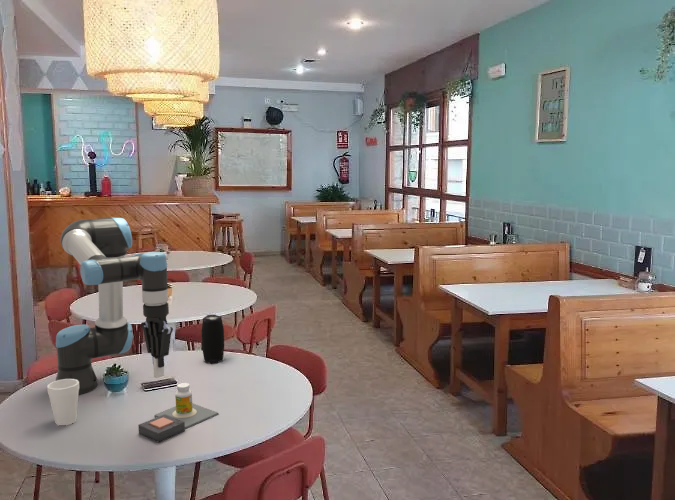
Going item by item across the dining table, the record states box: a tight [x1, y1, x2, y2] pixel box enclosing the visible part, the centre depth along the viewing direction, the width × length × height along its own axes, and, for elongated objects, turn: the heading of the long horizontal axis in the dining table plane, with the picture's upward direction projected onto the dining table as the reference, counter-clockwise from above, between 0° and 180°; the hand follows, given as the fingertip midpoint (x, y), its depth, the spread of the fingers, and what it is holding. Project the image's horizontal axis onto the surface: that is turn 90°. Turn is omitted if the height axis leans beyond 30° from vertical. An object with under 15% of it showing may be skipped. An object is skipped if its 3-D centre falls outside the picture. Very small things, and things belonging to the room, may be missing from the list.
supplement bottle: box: [174, 382, 193, 415], centre depth 204 cm, size 5×5×10 cm
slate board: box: [154, 402, 219, 430], centre depth 204 cm, size 16×14×1 cm
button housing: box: [137, 414, 186, 444], centre depth 191 cm, size 10×10×3 cm
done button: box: [150, 417, 174, 429], centre depth 191 cm, size 5×5×2 cm
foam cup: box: [46, 379, 79, 426], centre depth 198 cm, size 10×9×13 cm
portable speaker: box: [201, 314, 225, 365], centre depth 257 cm, size 9×9×20 cm
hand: (159, 376), depth 189 cm, fingers closed
